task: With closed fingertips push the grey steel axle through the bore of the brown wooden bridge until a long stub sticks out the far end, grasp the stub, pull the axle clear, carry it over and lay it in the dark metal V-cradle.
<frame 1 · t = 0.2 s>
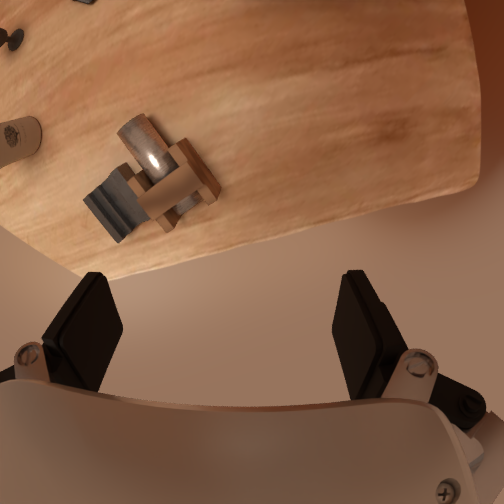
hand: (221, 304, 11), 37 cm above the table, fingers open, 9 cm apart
brown wooden bridge: (180, 178, 45), on the table
travel mug: (29, 135, 39), on the table
sundae: (16, 39, 28), on the table
v block: (125, 199, 47), on the table
axle: (164, 160, 43), point 1 cm above the table, touching brown wooden bridge
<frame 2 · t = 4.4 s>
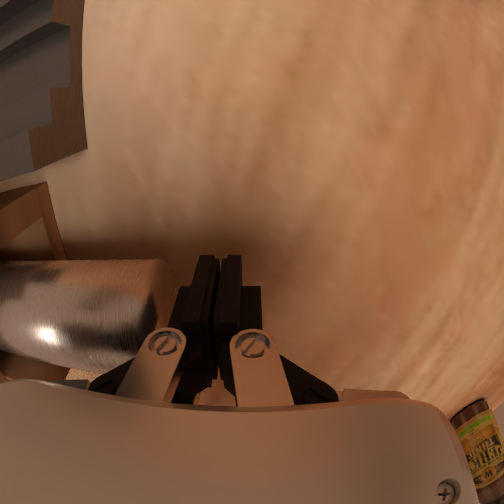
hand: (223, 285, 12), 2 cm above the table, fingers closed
brown wooden bridge: (15, 262, 14), on the table
sauce bottle: (466, 410, 26), on the table
v block: (10, 88, 9), on the table
axle: (42, 272, 13), point 1 cm above the table, tilted 17°, touching gripper
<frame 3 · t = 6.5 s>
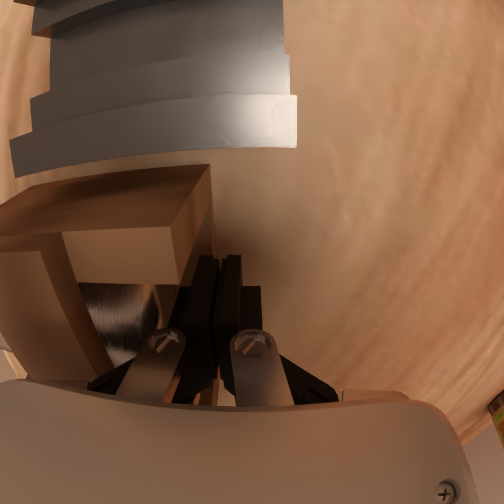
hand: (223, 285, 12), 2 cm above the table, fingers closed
brown wooden bridge: (123, 262, 14), on the table
sauce bottle: (501, 395, 26), on the table
v block: (158, 40, 9), on the table
axle: (45, 273, 13), point 1 cm above the table, tilted 16°, touching brown wooden bridge, gripper
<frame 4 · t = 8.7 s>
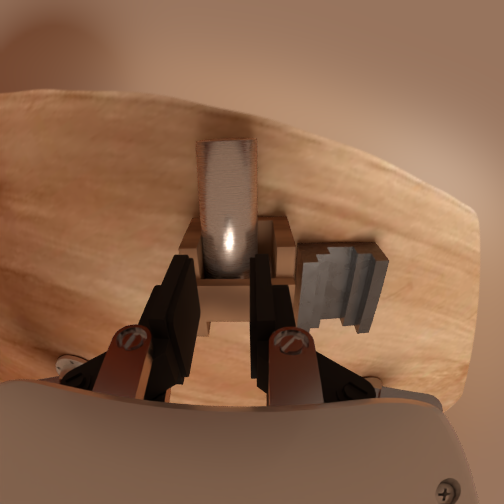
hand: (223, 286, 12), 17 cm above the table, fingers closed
brown wooden bridge: (240, 260, 31), on the table
v block: (332, 281, 33), on the table
axle: (238, 221, 28), point 1 cm above the table, tilted 16°, touching brown wooden bridge
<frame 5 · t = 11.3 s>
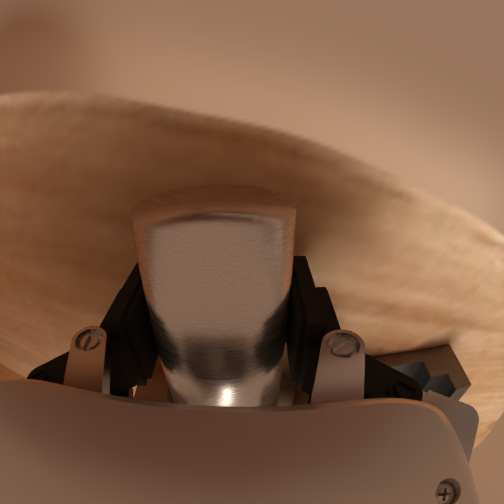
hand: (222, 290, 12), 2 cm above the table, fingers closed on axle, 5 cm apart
brown wooden bridge: (243, 382, 18), on the table
v block: (378, 393, 19), on the table
axle: (240, 345, 14), point 1 cm above the table, tilted 16°, touching brown wooden bridge, gripper
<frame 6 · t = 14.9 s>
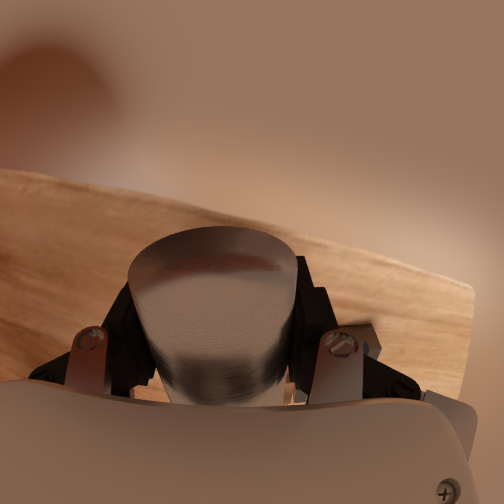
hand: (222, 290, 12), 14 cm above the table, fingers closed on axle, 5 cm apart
v block: (329, 354, 34), on the table
axle: (244, 368, 14), point 14 cm above the table, tilted 16°, touching gripper
when the fingers open (4 cm above the table, at t = 18.6 s): axle drops 2 cm, resting on v block.
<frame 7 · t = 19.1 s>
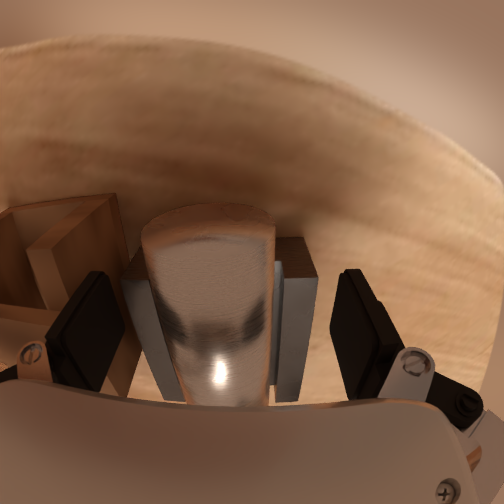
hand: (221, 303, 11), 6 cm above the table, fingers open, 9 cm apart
brown wooden bridge: (72, 270, 17), on the table
v block: (226, 309, 18), on the table
axle: (233, 334, 17), point 2 cm above the table, tilted 11°, touching v block
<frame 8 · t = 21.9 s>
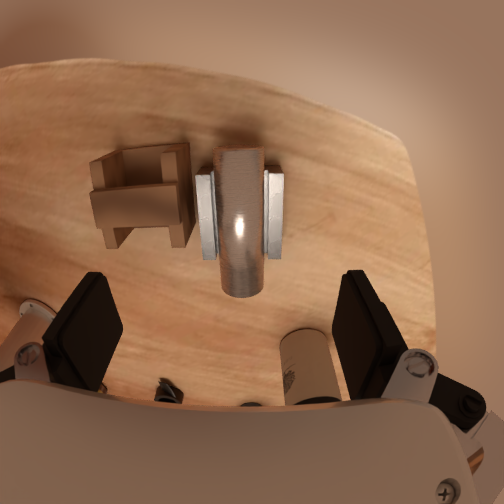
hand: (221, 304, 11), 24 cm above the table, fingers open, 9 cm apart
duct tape: (170, 391, 54), on the table
brown wooden bridge: (154, 186, 33), on the table
travel mug: (303, 343, 46), on the table
v block: (241, 206, 35), on the table
axle: (245, 214, 33), point 2 cm above the table, tilted 11°, touching v block
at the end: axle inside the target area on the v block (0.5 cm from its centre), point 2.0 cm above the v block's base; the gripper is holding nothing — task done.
